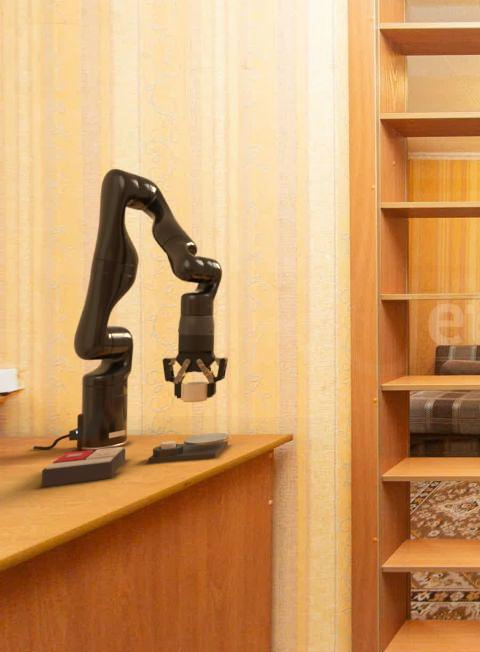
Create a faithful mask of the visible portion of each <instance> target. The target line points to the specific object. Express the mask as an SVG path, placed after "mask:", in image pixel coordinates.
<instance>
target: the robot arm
mask: <svg viewBox="0 0 480 652" xmlns="http://www.w3.org/2000/svg"><path fill="white" fill-rule="evenodd" d="M99 196H100V198H99V215H98V216H99V217H98V228H97V235H96V239H95V240H96V241H95V245H94V250H93V254H92V261H91V267H90V274H89V280H88V286H87V290H86V295H85V299H84V300H85V301H84V304H83V307H82V311H81V313H80V317H79V320H78V324H77V326H76V330H75V333H74V337H73V349H74V352H75V354H76V356H77V358H80V359H81V360H83V361H100V364H99V365H98V366H97V367H96V368H94V369H93V370H91V371H88V372H87V373H85V374H83V376H82V377H81V413H79V414H77V416H76V417H77V423H76V428H73V429H71V430H69V431H68V434H65V435H61V436H59V437H57V438H56V439H55V440H54V441H53V443H52V444H51V445H49V446H42V445H41V446H38V445H34V446H33V447H32V449H33V450H51V449H53V448H55V447H56V446H57V444H58V443H59V442H60V441H61V440H65V439H66V438H68V441H76V451H88V450H94V452H95V451H96V450H98V449H108V448H117V447H123V446H126V445H127V444H128V401H129V400H128V398H129V396H128V395H129V393H128V392H129V377H130V375H131V373H132V367H133V358H134V357H133V356H134V338H133V335H132V333H131V330H129V328H127V327H125V326H122V325H120V326H119V325H108V324H109V321H110V317H111V315H112V312H113V310H114V308H115V307H116V306H117V304H118V303H119V302H120V301H121V300H122V299H123V298H124V297H125V295H127V294H128V293H129V291H130V290H131V289H132V287H133V286H134V285H135V283H136V280H137V276H138V271H139V270H138V269H139V263H140V257H139V253H138V251H137V248H136V246H135V245H134V242H133V240H132V239H131V237H130V234H129V232H128V230H127V225H126V211H127V209H132V210H136V211H141V212H142V213H144V214H146V215H147V216H148V217H149V218H150V219H151V220H152V225H151V234H152V238H153V240H154V241H155V242H156V244H157V245H158V246H159V248H160V249H161V250H162V251H163V253H164V254H165V255H166V257H167V261H168V263H169V266H170V269H171V273H172V274H173V275H174V276H175V278H177V280H180V281H181V282H185V283H189V284H190V283H192V284H197V285H196V288H195V290H194V291H187V292H184V293H183V294H181V296H180V309H179V310H180V313H179V321H178V328H177V333H178V338H177V339H178V341H177V342H178V343H177V355H176V356H175V357H171V356H170V357H164V358H163V359H162V367H163V368H162V369H163V373H164V374H163V376H164V380H165V382H166V383H167V382H168V383H169V382H170V383H173V385H174V386H173V387H174V389H173V395H174V397H176V399H181V384H182V383H183V381H184V379H185V378H186V376H187V375H188V374H189V373H202V374H203V376H204V377H205V378H206V379H207V382H209V383H208V395H207V397H208V399H210V398H213V397H214V396H215V395H216V393H217V383H218V382H220V381H223V380H224V379H225V377H226V374H227V373H226V371H227V367H228V360H229V359H228V357H227V356H224V357H218V356H216V355H215V318H214V313H215V312H214V311H215V309H214V308H215V304H214V303H215V299H216V296H217V293H218V290H219V287H220V285H221V282H222V278H223V269H222V266H221V263H220V262H219V261H218V260H216V259H215V258H212V257H207V256H201V255H197V253H198V246H197V244H196V243H195V241H194V239H192V237H191V236H190V235H189V234H188V233H187V231H186V230H185V229H184V228H183V227H182V225H181V224H180V223H179V222H178V220H177V218H176V216H175V215H174V213H173V211H172V209H171V207H170V205H169V204H168V202H167V200H166V198H165V196H164V195H163V192H162V190H161V189H160V188H159V186H158V185H157V184H156V182H154V181H153V180H152V179H149V178H147V177H144V176H141V175H138V174H135V173H132V172H129V171H126V170H124V169H120V168H111V169H109V170H108V171H107V172H106V174H105V175H104V176H103V179H102V181H101V187H100V195H99ZM176 362H177V364H178V365H179V366H180V369H179V370H178V372H177V374H176V375H175V371H174V366H175V365H176ZM214 362H216V363H215V364H216V365H217V367H218V368H217V374H216V375H215V373H214V370H213V369H212V367H211V366H212V365H213V364H214Z"/></svg>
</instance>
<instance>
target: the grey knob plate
mask: <svg viewBox="0 0 480 652" xmlns="http://www.w3.org/2000/svg"><path fill="white" fill-rule="evenodd" d="M228 446H229V440H225V441H221V442H218V443H212V444H205V445H188V444H184V443H176V447H175V448H170V449H161V445H157V446H155V447H153V448H152V455H151V456H149V457H148V464H155V463H156V464H157V463H169V462H171V463H172V462H181V461H182V462H183V461H184V462H185V461H196V460H211V459H216V458H217V457H218V456H219V455H220V454H221V453H222V452H223V451H224V450H225V449H226V448H227V447H228Z"/></svg>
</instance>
